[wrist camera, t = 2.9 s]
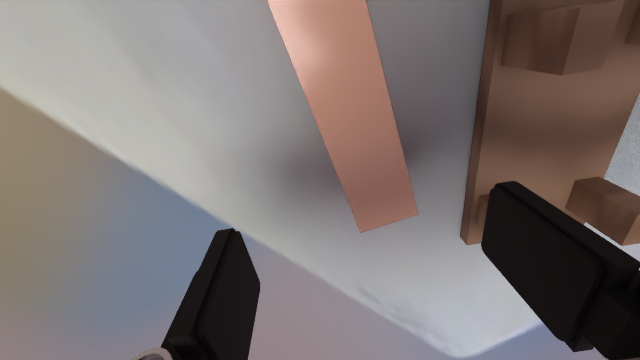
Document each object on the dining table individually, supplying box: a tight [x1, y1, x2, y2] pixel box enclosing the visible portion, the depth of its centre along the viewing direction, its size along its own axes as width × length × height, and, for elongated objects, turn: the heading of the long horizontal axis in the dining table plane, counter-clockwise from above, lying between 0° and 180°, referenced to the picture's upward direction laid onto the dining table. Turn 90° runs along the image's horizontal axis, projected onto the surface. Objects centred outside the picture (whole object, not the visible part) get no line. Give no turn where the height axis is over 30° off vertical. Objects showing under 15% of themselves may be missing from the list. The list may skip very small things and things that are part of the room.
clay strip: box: [267, 0, 418, 233], centre depth 14 cm, size 16×4×4 cm, turn 21°
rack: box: [460, 0, 640, 246], centre depth 15 cm, size 18×9×5 cm, turn 9°
